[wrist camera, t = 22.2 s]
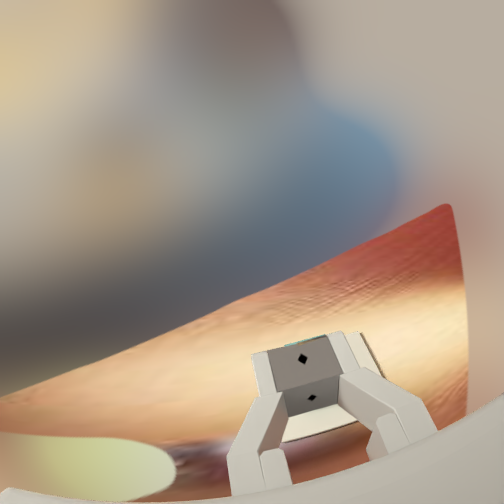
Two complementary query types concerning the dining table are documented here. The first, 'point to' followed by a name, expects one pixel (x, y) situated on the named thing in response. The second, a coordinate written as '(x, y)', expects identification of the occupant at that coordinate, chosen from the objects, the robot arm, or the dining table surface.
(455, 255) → the dining table surface
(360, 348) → the mat
